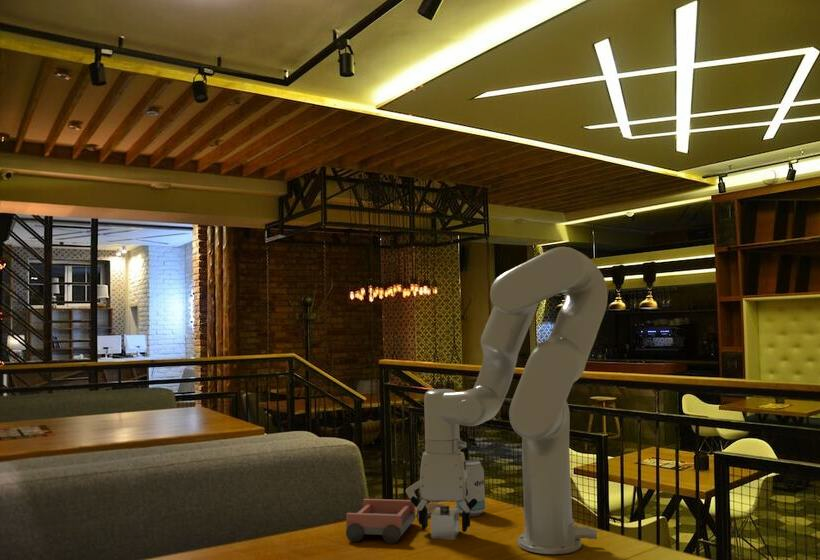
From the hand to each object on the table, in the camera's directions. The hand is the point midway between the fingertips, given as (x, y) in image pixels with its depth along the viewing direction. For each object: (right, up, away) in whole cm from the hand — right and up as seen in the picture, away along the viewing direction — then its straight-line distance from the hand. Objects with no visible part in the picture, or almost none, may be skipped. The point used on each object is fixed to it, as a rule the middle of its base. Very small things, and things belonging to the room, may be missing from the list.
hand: (444, 528), depth 143 cm
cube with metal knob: (0, -1, 0) cm, 1 cm away
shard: (-2, -3, +17) cm, 17 cm away
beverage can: (+7, -2, +16) cm, 17 cm away
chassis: (-14, -2, +3) cm, 14 cm away
